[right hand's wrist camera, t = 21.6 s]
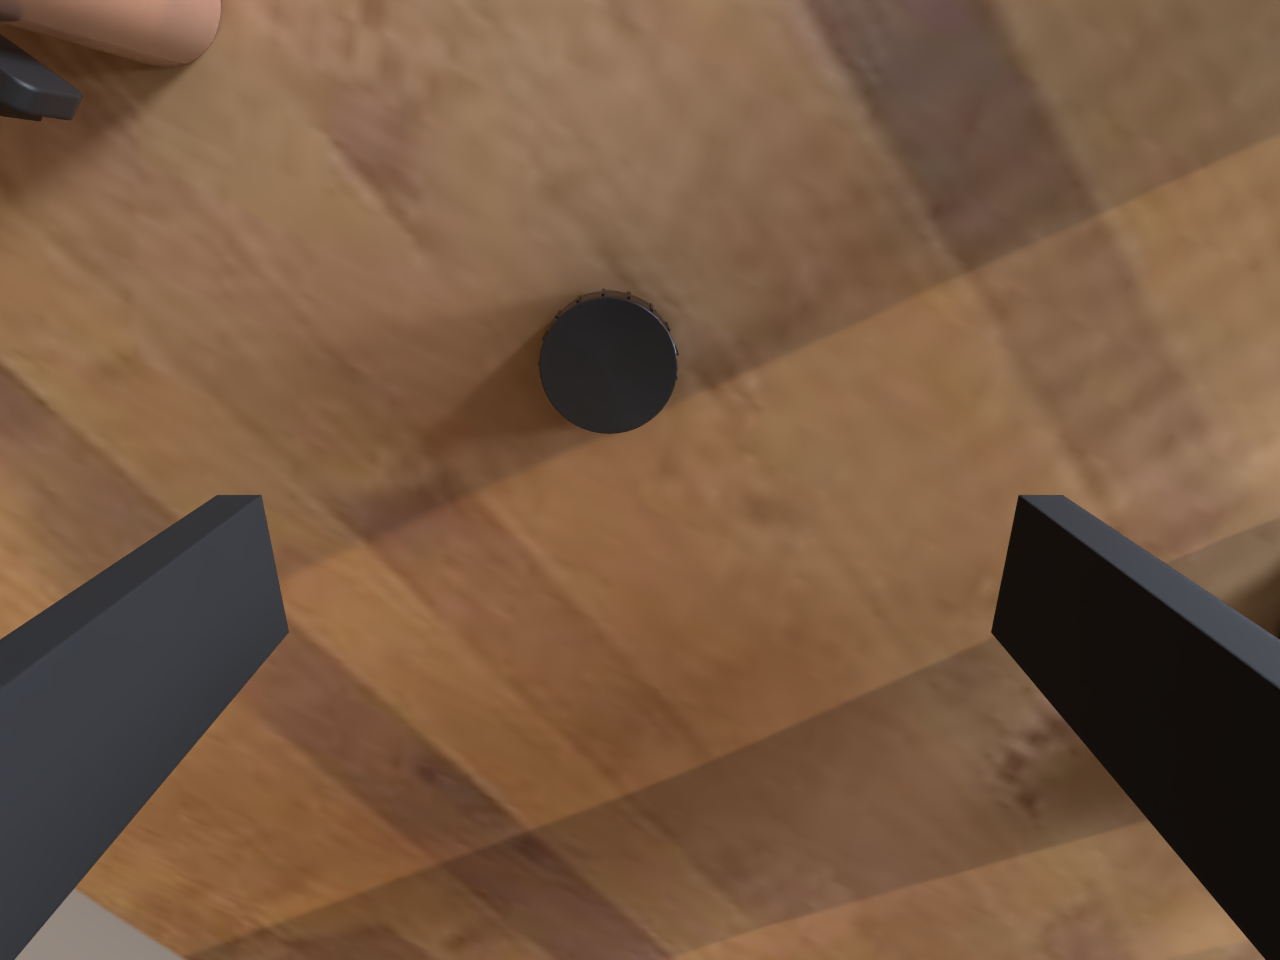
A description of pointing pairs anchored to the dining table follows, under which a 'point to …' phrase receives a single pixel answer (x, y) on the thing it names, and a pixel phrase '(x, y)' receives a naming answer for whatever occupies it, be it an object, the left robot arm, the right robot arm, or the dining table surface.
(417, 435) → the dining table surface
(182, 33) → the jar
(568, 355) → the lid
